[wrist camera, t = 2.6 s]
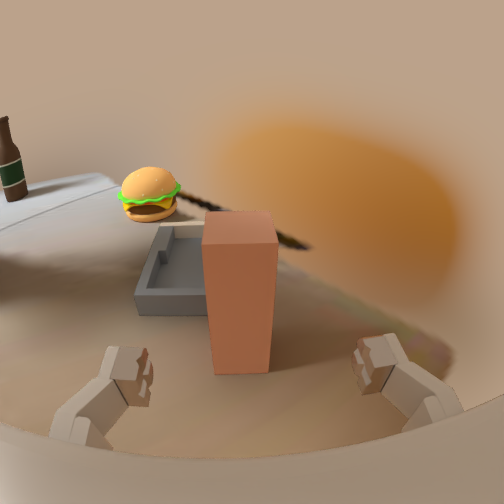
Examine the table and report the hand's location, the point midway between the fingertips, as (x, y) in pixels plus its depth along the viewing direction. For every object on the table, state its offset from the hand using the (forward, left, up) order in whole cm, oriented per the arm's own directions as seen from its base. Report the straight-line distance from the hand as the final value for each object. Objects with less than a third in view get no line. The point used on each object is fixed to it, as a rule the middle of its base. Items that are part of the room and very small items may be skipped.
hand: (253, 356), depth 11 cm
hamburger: (-42, +25, -15) cm, 52 cm away
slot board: (-22, +16, -15) cm, 31 cm away
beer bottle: (-89, +8, -15) cm, 91 cm away
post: (-8, +9, -15) cm, 20 cm away
